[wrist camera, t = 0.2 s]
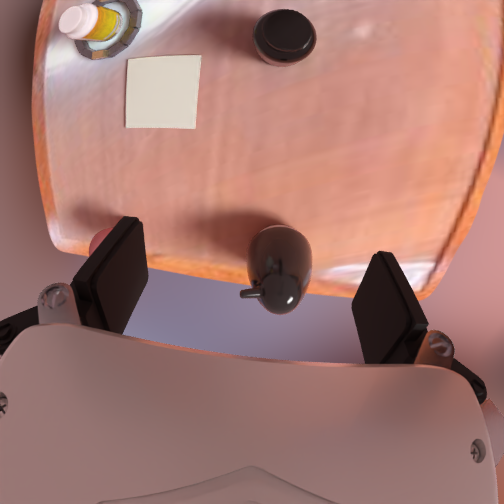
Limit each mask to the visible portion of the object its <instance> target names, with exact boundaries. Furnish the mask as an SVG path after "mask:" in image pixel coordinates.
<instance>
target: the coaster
mask: <svg viewBox="0 0 504 504" xmlns="http://www.w3.org/2000/svg"><path fill="white" fill-rule="evenodd" d="M200 66H201V55H177V56H158V57H145V58H135V59H128V68H127V86H126V128H186V129H195V127H196V112H197V99H198V87H199V76H200Z"/></svg>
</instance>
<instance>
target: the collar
mask: <svg viewBox="0 0 504 504" xmlns="http://www.w3.org/2000/svg"><path fill="white" fill-rule="evenodd" d="M116 1H121V2H124V3H126V5H127V7H128V9H129V11H130V13H131V14H130V21H129V27H128V29H127V30H126V32H125V33H124V35H123V37H122V38H121V40H120V41H119V42H117V43H116V44H115V45H113V46H112V47H111V48H109V49H108V50H100V51H95V50H93V49H91V48H90V47H89V45H88V43H87V41H86V40H76V41H75V44H76V46H77V48H78V51H79V53H81V55H83V56H85V57H88V58H90V59H92V60H99V59H105V58H110V57H113V56H116V55H117V54H118V53H120V52H121V51H123V50H124V49H125V48H127V47H128V45H130V44H131V42H132V41H133V39H134V38H135V36H136V35H137V33H138V32H139V29H138V28H140V27H141V19H142V13H143V12H142V9H141V8H140V6H139V4H138V2H137V0H96V1H94V2H93V3H92V4H94V5H98V6H102V7H103V6H104V5H105V4H107V3H111V2H116ZM74 40H75V39H74Z"/></svg>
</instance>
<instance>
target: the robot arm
mask: <svg viewBox="0 0 504 504" xmlns="http://www.w3.org/2000/svg"><path fill="white" fill-rule="evenodd" d="M147 281H148V268H147V260H146V251H145V242H144V232H143V223H142V222H141V221H139V219H138V218H137V217H129V216H124V217H123V218H122V219H121V220H120V221H119V222H118V223H117V224H116V226H115V227H114V228H113V229H112V230H111V231H110V233H109V234H108V235H107V236H106V237H105V238H104V240H103V241H102V242H101V243H100V244H99V246H98V247H97V248H96V249H95V251H94V252H93V253H92V254H91V256H90V257H89V258H88V259H87V261H86V262H85V263H84V265H83V266H82V267H81V268H80V270H79V271H78V272H77V274H76V275H75V276H74V278H73V281H72V283H71V284H70V285H68V284H66V283H55V284H51V285H49V286H47V287H46V288H45V289H44V290H43V291H42V292H41V293H40V295H39V297H38V302H37V303H38V306H35V307H33V308H30V309H28V310H25V311H23V312H20V313H18V314H16V315H13V316H11V317H8V318H6V319H4V320H2V321H0V504H498V491H497V480H496V479H497V478H496V471H495V467H496V466H497V464H498V462H499V460H500V459H501V457H502V455H503V454H504V417H503V415H502V414H501V412H500V411H499V410H498V408H497V407H496V406H495V404H494V403H493V402H492V401H491V400H490V398H488V399H487V400H486V396H487V391H486V387H485V384H484V382H483V381H482V380H481V379H480V378H479V377H478V376H477V375H475V374H474V373H473V372H471V371H470V370H469V369H468V368H466V367H465V366H464V365H462V364H461V363H460V362H458V361H457V360H456V359H454V353H455V348H454V345H453V343H452V341H451V339H450V338H449V337H448V336H447V335H446V334H444V333H443V332H441V331H438V330H430V331H427V328H426V327H427V326H428V324H429V323H428V321H427V319H426V317H425V315H424V313H423V310H422V308H421V306H420V304H419V302H418V300H417V298H416V296H415V294H414V292H413V290H412V288H411V286H410V284H409V282H408V280H407V279H406V277H405V275H404V273H403V271H402V269H401V267H400V266H399V264H398V262H397V260H396V258H395V257H394V255H393V254H392V253H391V252H384V251H378V252H377V254H374V255H373V256H372V259H371V261H370V263H369V266H368V268H367V270H366V273H365V275H364V277H363V279H362V282H361V284H360V286H359V288H358V290H357V293H356V295H355V297H354V299H353V301H352V312H353V316H354V319H355V324H356V327H357V331H358V335H359V339H360V343H361V348H362V352H363V356H364V360H365V364H344V363H319V362H303V361H289V360H276V359H266V358H257V357H248V356H239V355H231V354H224V353H217V352H210V351H204V350H198V349H192V348H186V347H180V346H175V345H170V344H164V343H159V342H154V341H150V340H145V339H140V338H136V337H131V336H126V335H122V334H123V332H124V329H125V327H126V325H127V323H128V321H129V318H130V316H131V314H132V312H133V310H134V308H135V306H136V304H137V302H138V300H139V297H140V296H141V294H142V292H143V290H144V288H145V286H146V284H147Z"/></svg>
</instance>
